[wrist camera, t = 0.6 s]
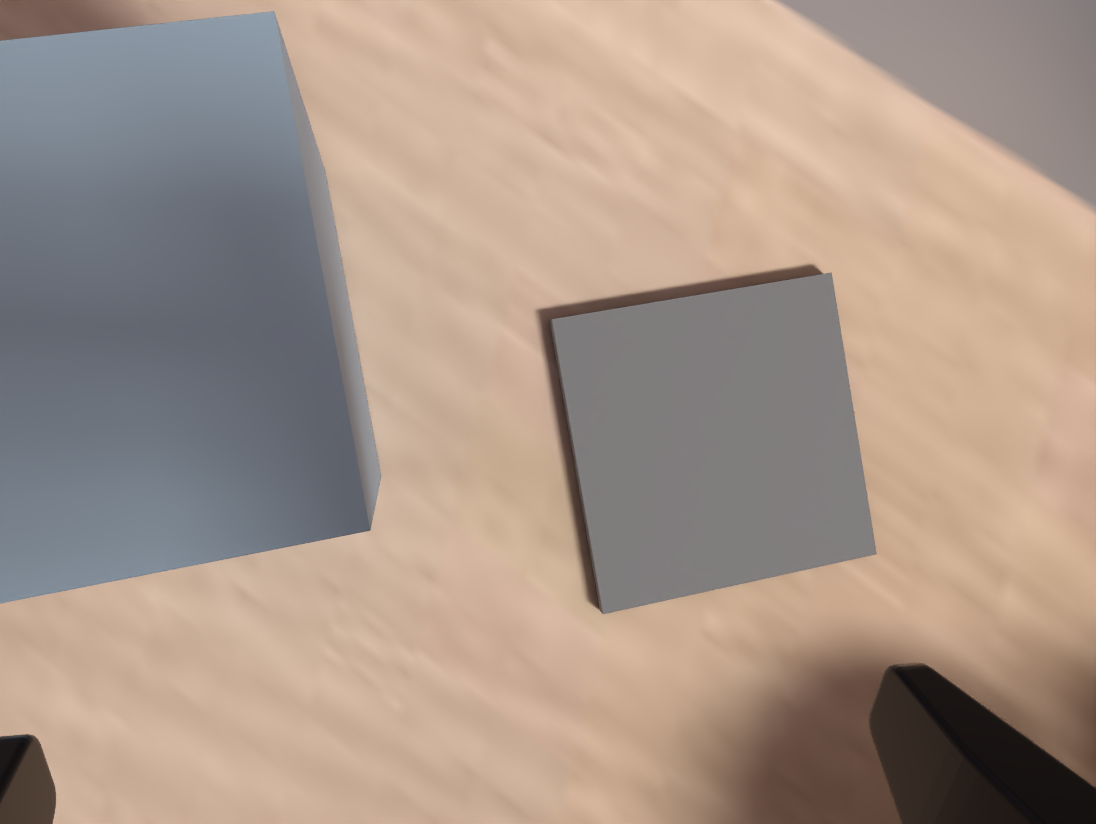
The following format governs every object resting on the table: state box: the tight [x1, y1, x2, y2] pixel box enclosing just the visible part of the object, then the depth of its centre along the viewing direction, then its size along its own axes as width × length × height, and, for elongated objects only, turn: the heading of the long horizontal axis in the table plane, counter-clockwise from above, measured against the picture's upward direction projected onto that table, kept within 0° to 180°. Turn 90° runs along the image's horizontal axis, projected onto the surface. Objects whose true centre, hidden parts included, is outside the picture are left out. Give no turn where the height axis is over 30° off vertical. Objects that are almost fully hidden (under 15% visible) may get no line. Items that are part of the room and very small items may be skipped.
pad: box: [549, 273, 877, 614], centre depth 25 cm, size 8×8×1 cm
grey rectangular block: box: [0, 11, 381, 603], centre depth 19 cm, size 8×6×10 cm
